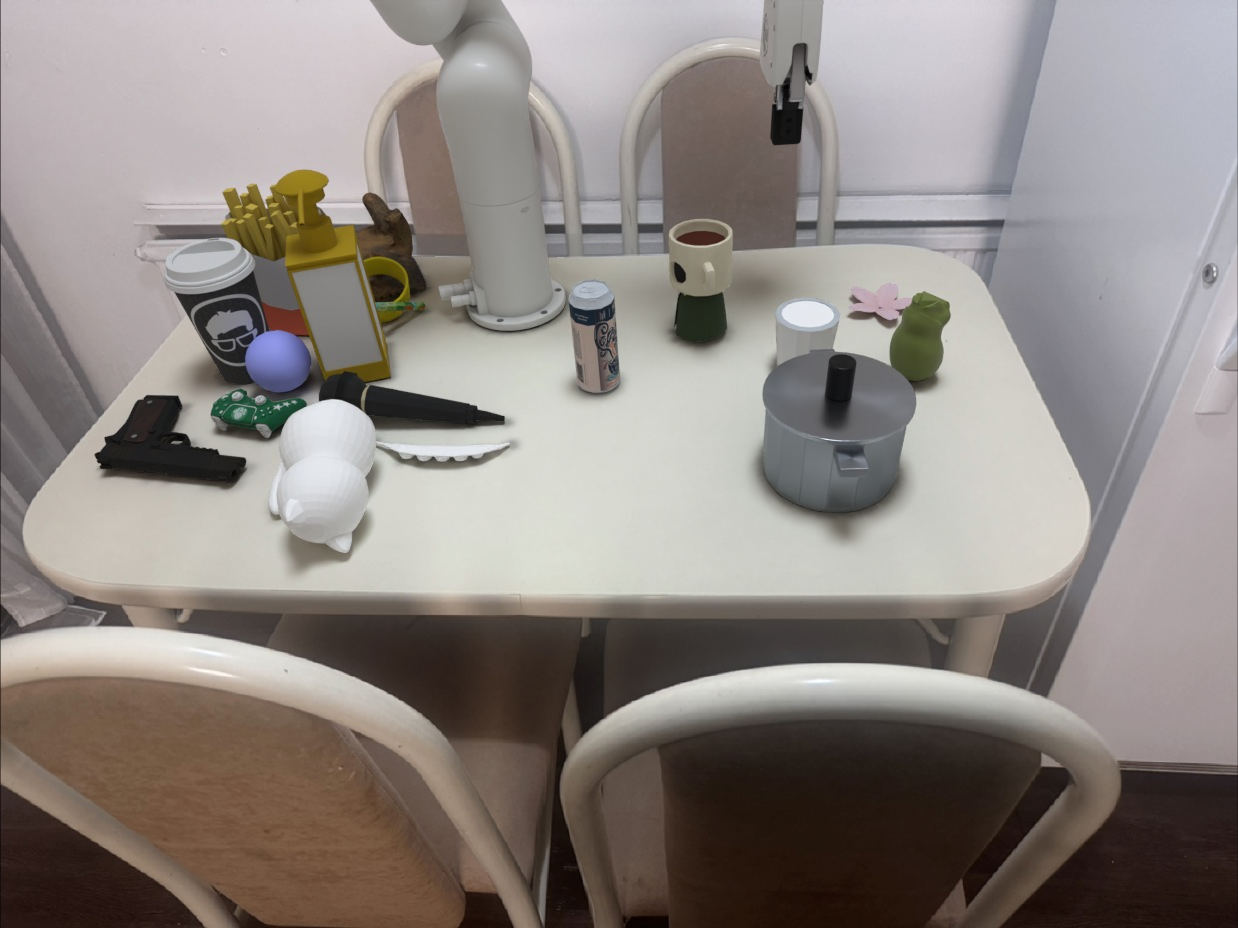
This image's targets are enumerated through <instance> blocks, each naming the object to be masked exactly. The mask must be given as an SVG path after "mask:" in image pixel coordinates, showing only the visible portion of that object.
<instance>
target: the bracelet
mask: <svg viewBox="0 0 1238 928" xmlns="http://www.w3.org/2000/svg"><path fill="white" fill-rule="evenodd" d="M364 264H365V267H366V271H367V274H368V277H370V276H372V275H376V274H384V275H389V276H392V277H394V278H396V279H398V280H399V281H400V282H401V283H402V284H403V285H404V286H405V288H404V290H403V292H402V294H401V295H400V297H399V298H398V299H396V300H392V302H410V299H411V295H410V289H409V284H408V276H407V273H406V271H405V269H404V268H403V267H402V266H401V265H400V264H399V263H398V262H396V261H394V260H392V259H389V258H385V257H371V258H368V259H366V260H364ZM404 312H405V311H378V314H379V318H380V321H381V324H382V323H387V322H391V321H393V320H395V319H397V318H398V317H400V316H401V315H402V314H403V313H404Z"/></svg>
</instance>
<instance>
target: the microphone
mask: <svg viewBox="0 0 1238 928" xmlns="http://www.w3.org/2000/svg"><path fill="white" fill-rule="evenodd" d="M330 399H336V400H342V401H345V402H347V403H350V404H352V405H354V406H356V407H357V408H359V409H360V410H361V411H363V412H364V413H365V414H366V415H367V416H368V417H376V418H377V417H379V418H391V419H403V420H412V421H413V420H414V421H427V422H438V423H449V424H450V423H451V424H461V425H462V424H463V425H468V424H471V425H475V424H476V422H505V421H506V415H501V414H498V413H495V412H491V411H488V410H482V409H478V406H477V405H475V404H470V403H469V402H462V401H457V400H453V399H447V398H443V397H437V396H432V395H426V394H421V393H416V392H411V391H405V390H400V389H395V388H390V387H384V386H380V385H379V386H378V385H375V384H369V385H368V384H367V383H366V382H364V380H362V379H361V378H359V377H358V375H357V373H353V372H347V371H344V372H343V373H342V374H335V375H331V376H329V377H328V378H327V379H326V380H324V381H323V382H322V383H321V385H320V388H319V392H318V402H321V401H324V400H330Z"/></svg>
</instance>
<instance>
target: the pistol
mask: <svg viewBox="0 0 1238 928" xmlns="http://www.w3.org/2000/svg"><path fill="white" fill-rule="evenodd" d="M182 408H183V404H182V401H181V399H180V396H179V395H175V394H174V395H173V394H171V395H169V394H168V395H167V394H146V395H145V396H144V397H143V398H142V399H137V400H135V402H134V404H133V407H132V409H131V410H130V412H129V415H128V417H127V419H126V421H125V422H124V424H122V426H121V427H120V428H119V429H118V430H117V431H116V432H115V433H114V434H111V435H107V436H104V437H103V438H104V443H105V444H104V446H103V447H102V448H101V449H100V451H98V452H95V453H94V455H93V456H94V457H95V460H96V463H97V464H100V465H99V468H100V470H112V469H114V470H122V471H130V472H131V471H132V472H138V473H146V474H147V473H148V472H149V473H157V474H158V473H159V474H165V475H167V476H173V477H181V478H190V479H196V480H197V479H199V480H206V481H214V482H215V481H216V482H222V483H224V482H225V483H231V484H233V483H234V482H235V481H236V479H237V478H238V477H239V476H240V475H241V474H242V470H243V468H245V467H246V466H247V458H246V457H243V456H234V455H228V454H227V455H225V454H220V452H219V450H218V448H215V449H214V447H213V448H211V447H209V448H207V447H203V446H202V447H200V446H192V442H191V440H190V436H189V435H188V434H187V433H185V432H177V431H171V428H172V427H173V425H174V423H175V421H176V419H177V417H178V415H179V413H180V410H181V409H182ZM173 442H180V443H173Z"/></svg>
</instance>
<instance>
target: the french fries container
mask: <svg viewBox="0 0 1238 928" xmlns="http://www.w3.org/2000/svg"><path fill="white" fill-rule="evenodd" d="M276 184H277V183H276ZM276 184H272V185H270V186H269V191H270V193H271V195H269V196H266V198H265V202H264V200H263V196H262V194H261V192H260V189H259V187H258V186H259V185H258V184H257V183H250V184H248V185H247V186H246V189H247V192H243V193H241V194H240V195H239V194H238V191H237V188H236V187H227V188H225V189H224V190H223V191H222V195H223V198H224V200H225V202H226V205H227V208H228V210H229V212H228V213H227V214H226V215H225V216H224V221H222V222H221V223H220V225H221V228H222V229H223V231H224V233H225V238H228V239H233V240H235V241H237V242H239V243H240V245H241V246H242V247H243V248H245V249H246V250H247V251H248V252H249V253H250V254H251V255H252V257H253V258H254V260H255V267H254V269H253V271H254V275H255V279H256V283H257V287H258V290H259V294H260V298H261V301H262V305H263V309H264V312H265V316H266V320H267V323H268V327H269V330H271V331H277V330H280V331H285V332H288V333H291V334H294V335H296V336H309V334H308V331H307V328H306V325H305V322H304V319H303V316H302V313H301V311H300V308H299V305H298V302H297V299H296V296H295V293H294V290H293V287H292V285H291V282H290V279H289V276H288V273H287V268H286V267H285V258H286V239H287V236H289V235H295V234H299V233H298V230H297V227H296V224H297V222H298V221H299V213H298V207H296V206H291V205H289V204H288V202H287V200H286V197H285V196H282V195H280V194H277V193H276V191H275V188H274V187H275V186H276ZM265 204H266V205H265ZM318 211H319V214H321V211H320V209H318Z"/></svg>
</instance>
